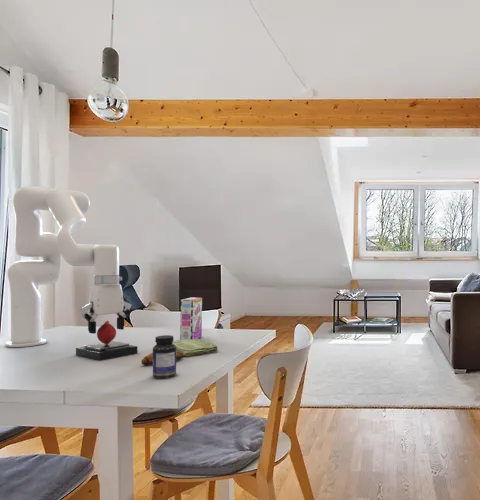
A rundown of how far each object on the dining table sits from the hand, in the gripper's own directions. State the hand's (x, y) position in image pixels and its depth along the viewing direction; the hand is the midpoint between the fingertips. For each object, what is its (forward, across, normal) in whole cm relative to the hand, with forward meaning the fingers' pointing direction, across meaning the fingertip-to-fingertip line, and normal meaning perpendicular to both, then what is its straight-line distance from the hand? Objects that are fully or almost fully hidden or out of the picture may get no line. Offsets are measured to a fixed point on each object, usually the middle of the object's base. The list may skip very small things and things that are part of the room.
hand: (106, 331), depth 162 cm
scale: (+8, 0, 0) cm, 8 cm away
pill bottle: (+8, +7, +42) cm, 43 cm away
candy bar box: (+8, -33, +2) cm, 34 cm away
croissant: (+8, -3, +27) cm, 28 cm away
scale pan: (+5, 0, 0) cm, 5 cm away
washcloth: (+8, -19, +20) cm, 29 cm away
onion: (+5, 0, 0) cm, 5 cm away
